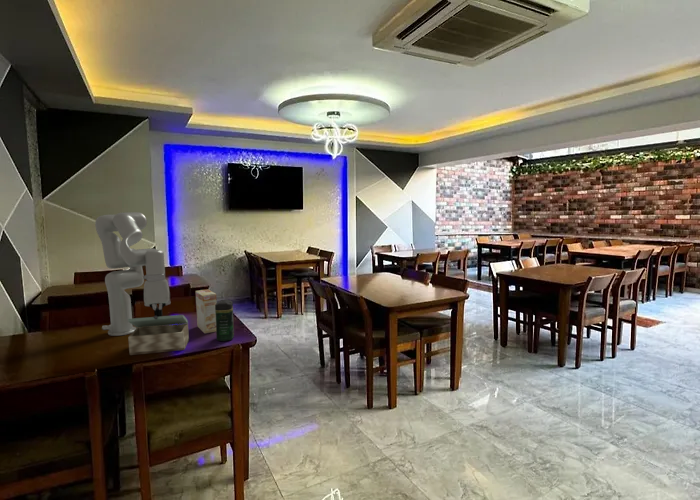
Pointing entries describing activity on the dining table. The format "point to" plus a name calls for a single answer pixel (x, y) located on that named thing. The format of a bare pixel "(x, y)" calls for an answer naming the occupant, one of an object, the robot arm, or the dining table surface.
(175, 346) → the chest
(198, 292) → the coffeecake box
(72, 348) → the dining table surface
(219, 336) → the coffee jar
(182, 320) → the lid
